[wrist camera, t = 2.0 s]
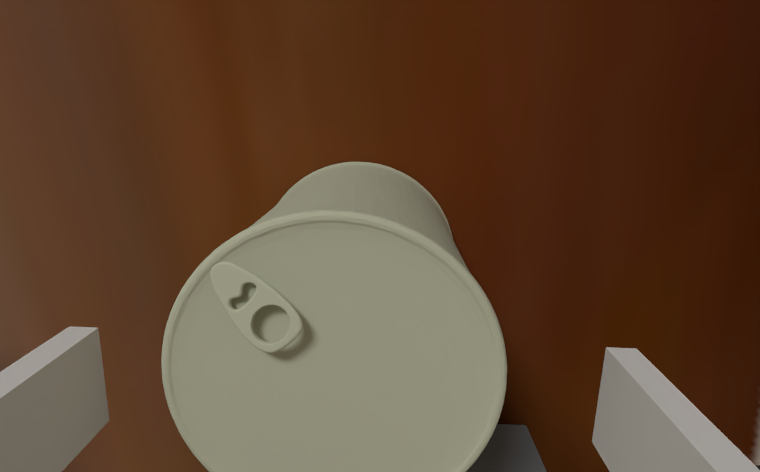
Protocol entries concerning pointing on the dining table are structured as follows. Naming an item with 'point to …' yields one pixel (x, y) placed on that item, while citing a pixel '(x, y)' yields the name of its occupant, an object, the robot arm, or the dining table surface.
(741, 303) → the dining table surface
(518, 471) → the tray
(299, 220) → the can
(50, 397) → the robot arm
